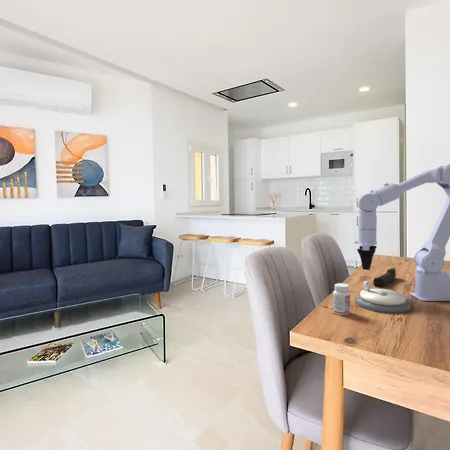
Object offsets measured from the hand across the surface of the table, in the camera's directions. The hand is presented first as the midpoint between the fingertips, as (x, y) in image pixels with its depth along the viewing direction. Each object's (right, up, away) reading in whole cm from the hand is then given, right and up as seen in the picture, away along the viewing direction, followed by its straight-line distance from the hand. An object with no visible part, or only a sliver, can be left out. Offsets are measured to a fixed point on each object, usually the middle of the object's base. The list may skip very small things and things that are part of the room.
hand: (366, 267), depth 112 cm
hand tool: (+14, -8, +16) cm, 23 cm away
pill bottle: (-15, -11, -17) cm, 25 cm away
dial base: (0, -10, -10) cm, 14 cm away
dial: (0, -9, -10) cm, 13 cm away
